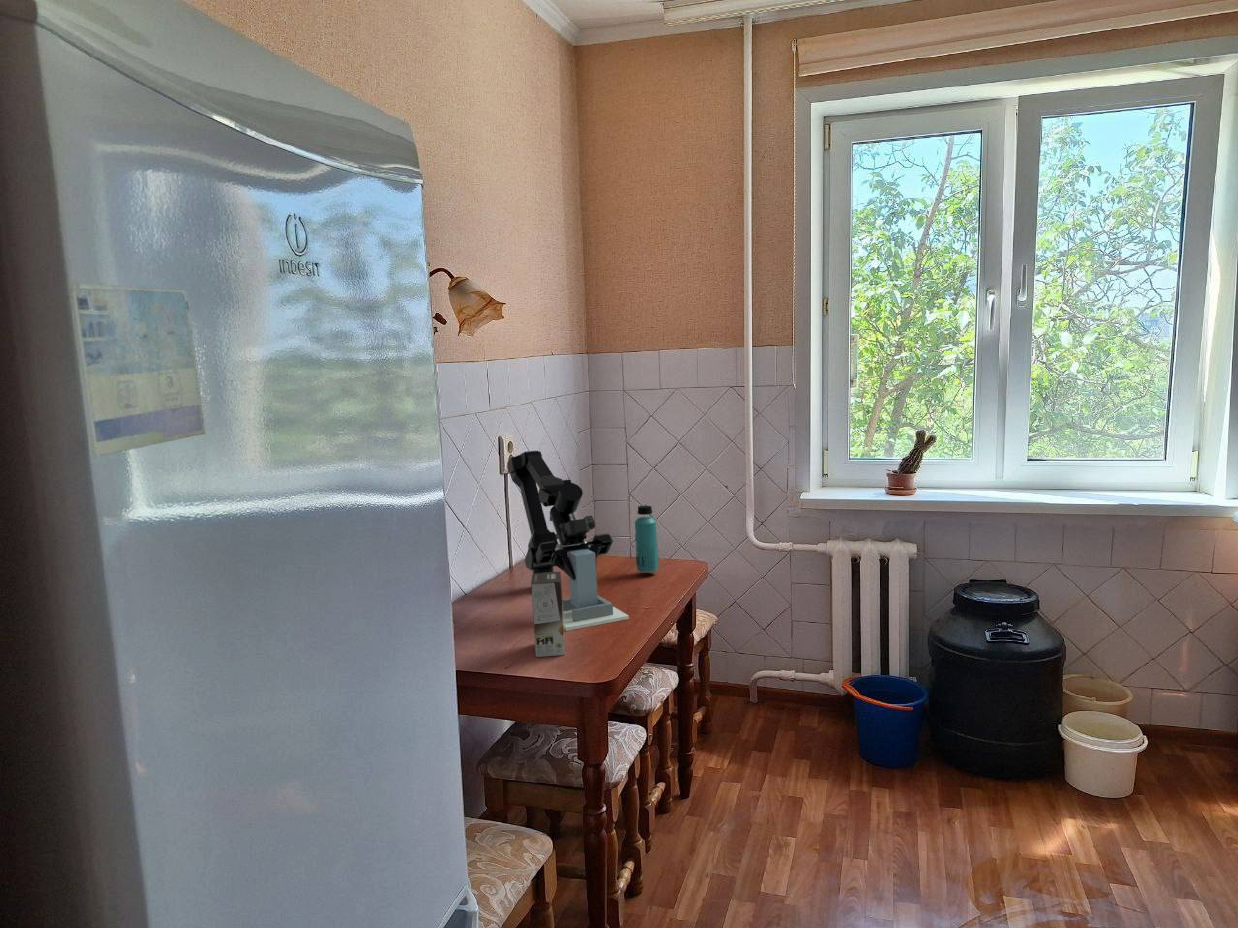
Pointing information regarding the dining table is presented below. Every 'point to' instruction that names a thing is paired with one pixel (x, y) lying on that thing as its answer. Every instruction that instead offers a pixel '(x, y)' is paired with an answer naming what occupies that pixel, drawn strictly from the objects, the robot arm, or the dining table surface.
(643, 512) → the beverage bottle
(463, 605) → the dining table surface
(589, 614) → the plate
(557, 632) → the coffee box
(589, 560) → the blue-grey tall block
